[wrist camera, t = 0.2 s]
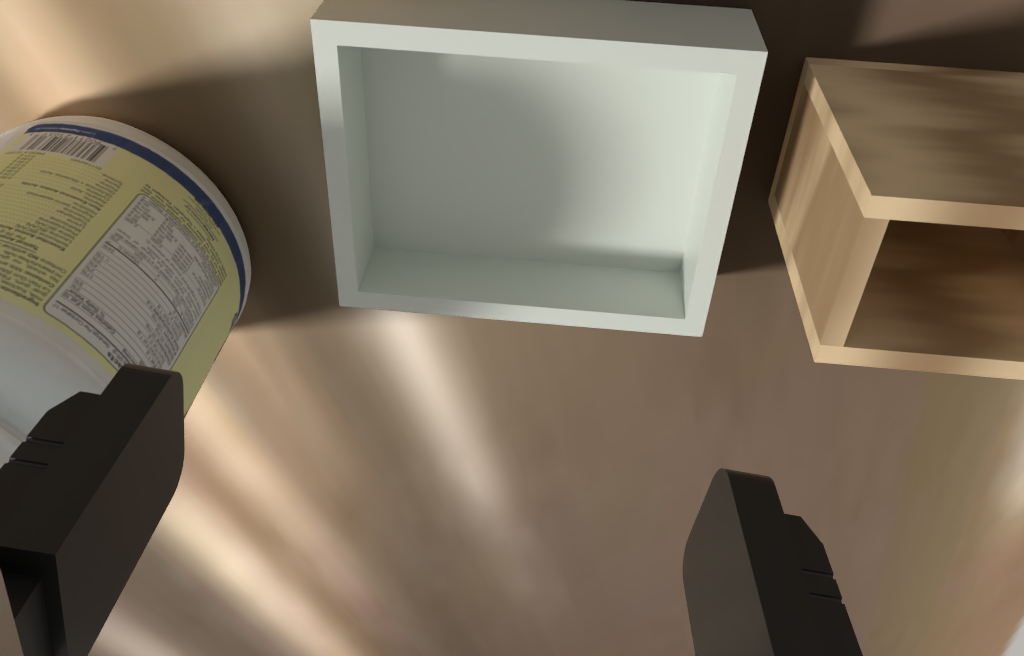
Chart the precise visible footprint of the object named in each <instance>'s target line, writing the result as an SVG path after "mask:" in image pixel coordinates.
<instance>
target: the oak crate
mask: <svg viewBox="0 0 1024 656" xmlns="http://www.w3.org/2000/svg"><path fill="white" fill-rule="evenodd" d="M768 204H769V207H770V210H771V214H772V217H773V221H774V224H775V228H776V231H777V235H778V238H779V241H780V245H781V248H782V252H783V255H784V259H785V262H786V266H787V269H788V273H789V276H790V279H791V283H792V286H793V290H794V293H795V297H796V300H797V304H798V307H799V310H800V314H801V317H802V321H803V324H804V328H805V331H806V335H807V338H808V342H809V345H810V348H811V352H812V355H813V359H814V362H820V363H832V364H844V365H855V366H867V367H879V368H891V369H902V370H914V371H926V372H937V373H949V374H961V375H973V376H984V377H996V378H1008V379H1020V380H1024V73H1019V72H1005V71H992V70H978V69H964V68H950V67H936V66H922V65H909V64H895V63H881V62H867V61H853V60H839V59H825V58H812V57H805V61H804V65H803V69H802V72H801V76H800V80H799V84H798V88H797V92H796V96H795V99H794V103H793V107H792V111H791V115H790V119H789V122H788V126H787V130H786V134H785V138H784V142H783V145H782V149H781V153H780V157H779V161H778V165H777V169H776V172H775V176H774V180H773V184H772V188H771V192H770V195H769V199H768Z"/></svg>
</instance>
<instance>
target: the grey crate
mask: <svg viewBox="0 0 1024 656" xmlns="http://www.w3.org/2000/svg"><path fill="white" fill-rule="evenodd" d="M310 22H311V32H312V42H313V52H314V61H315V71H316V81H317V91H318V101H319V110H320V120H321V130H322V140H323V150H324V159H325V169H326V179H327V189H328V198H329V208H330V218H331V228H332V238H333V247H334V257H335V267H336V277H337V286H338V296H339V306H343V307H355V308H367V309H379V310H391V311H403V312H414V313H426V314H438V315H450V316H462V317H474V318H485V319H497V320H509V321H521V322H533V323H545V324H556V325H568V326H580V327H592V328H604V329H616V330H627V331H639V332H651V333H663V334H675V335H687V336H698V337H702V335H703V331H704V326H705V322H706V318H707V313H708V309H709V305H710V300H711V296H712V292H713V287H714V283H715V279H716V274H717V270H718V266H719V262H720V257H721V253H722V249H723V244H724V240H725V236H726V231H727V227H728V223H729V218H730V214H731V210H732V205H733V201H734V197H735V193H736V188H737V184H738V180H739V175H740V171H741V167H742V162H743V158H744V154H745V149H746V145H747V141H748V136H749V132H750V128H751V124H752V119H753V115H754V111H755V106H756V102H757V98H758V93H759V89H760V85H761V80H762V76H763V72H764V67H765V63H766V59H767V54H768V51H767V48H766V46H765V43H764V40H763V38H762V35H761V33H760V30H759V28H758V25H757V23H756V20H755V18H754V15H753V12H752V10H751V9H740V8H726V7H711V6H697V5H683V4H669V3H655V2H640V1H626V0H324V1H323V3H322V4H321V5H320V7H319V8H318V9H317V11H316V12H315V13H314V15H313V16H312V17H311V19H310Z"/></svg>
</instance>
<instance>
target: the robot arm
mask: <svg viewBox="0 0 1024 656" xmlns="http://www.w3.org/2000/svg"><path fill="white" fill-rule="evenodd" d="M183 461H184V393H183V378H182V375H181V374H180V373H179V372H176V371H170V370H164V369H159V368H153V367H147V366H141V365H136V364H130V363H127V364H124V365H123V366H122V367H121V368H120V369H119V370H118V372H117V373H116V374H115V376H114V377H113V379H112V380H111V381H110V383H109V384H108V385H107V387H106V388H105V389H104V391H103V392H102V393H101V395H100V394H94V393H89V392H83V391H80V392H78V393H76V394H75V395H73V396H71V397H70V398H68V399H66V400H65V401H63V402H61V403H60V404H58V405H56V406H55V407H53V408H51V409H50V410H48V411H47V412H46V413H45V414H44V416H43V417H42V418H41V419H40V420H39V422H38V423H37V424H36V425H35V427H34V428H33V429H32V430H31V432H30V433H29V434H28V435H27V438H26V441H25V442H22V443H21V444H20V445H19V446H18V448H17V449H16V450H15V451H14V453H13V454H12V455H11V456H10V457H9V462H8V463H5V464H4V465H3V466H2V467H1V469H0V656H88V654H89V652H90V650H91V648H92V646H93V644H94V642H95V641H96V639H97V637H98V635H99V633H100V631H101V629H102V628H103V626H104V624H105V622H106V620H107V618H108V616H109V615H110V613H111V611H112V609H113V607H114V605H115V603H116V601H117V600H118V598H119V596H120V594H121V592H122V590H123V588H124V587H125V585H126V583H127V581H128V579H129V577H130V575H131V573H132V572H133V570H134V568H135V566H136V564H137V562H138V560H139V559H140V557H141V555H142V553H143V551H144V549H145V547H146V546H147V544H148V542H149V540H150V538H151V536H152V534H153V532H154V531H155V529H156V527H157V525H158V523H159V521H160V519H161V518H162V516H163V514H164V512H165V510H166V508H167V506H168V505H169V503H170V501H171V499H172V497H173V495H174V493H175V491H176V488H177V486H178V483H179V479H180V476H181V472H182V467H183ZM683 582H684V588H685V594H686V600H687V607H688V613H689V619H690V625H691V631H692V637H693V643H694V649H695V655H696V656H863V655H862V652H861V649H860V647H859V644H858V641H857V638H856V635H855V633H854V630H853V627H852V624H851V621H850V619H849V616H848V613H847V610H846V607H845V605H844V604H842V603H841V600H842V596H841V593H840V591H839V588H838V585H837V582H836V580H835V579H833V571H832V568H831V565H830V563H829V560H828V557H827V554H826V551H825V549H824V546H823V544H822V543H821V541H820V540H819V539H818V538H817V536H816V535H815V534H814V533H813V531H812V530H811V529H810V528H809V526H808V525H807V524H806V523H805V522H804V520H803V519H802V518H801V517H800V516H794V515H789V514H784V512H783V509H782V506H781V503H780V499H779V496H778V493H777V490H776V487H775V484H774V482H773V480H772V479H771V478H770V477H768V476H763V475H757V474H751V473H745V472H740V471H734V470H728V469H723V468H722V469H719V470H718V471H717V472H716V474H715V475H714V477H713V479H712V482H711V484H710V487H709V489H708V491H707V494H706V496H705V499H704V501H703V503H702V506H701V508H700V511H699V513H698V516H697V518H696V520H695V523H694V525H693V528H692V530H691V532H690V535H689V537H688V540H687V543H686V547H685V552H684V559H683Z"/></svg>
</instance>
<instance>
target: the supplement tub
mask: <svg viewBox="0 0 1024 656" xmlns="http://www.w3.org/2000/svg"><path fill="white" fill-rule="evenodd" d="M250 280H251V263H250V255H249V250H248V246H247V242H246V239H245V236H244V233H243V231H242V228H241V226H240V224H239V221H238V219H237V217H236V215H235V213H234V212H233V210H232V208H231V207H230V205H229V204H228V202H227V200H226V199H225V197H224V196H223V195H222V193H221V192H220V191H219V190H218V188H217V187H216V186H215V185H214V183H213V182H212V181H211V180H210V179H209V178H208V177H207V176H206V175H205V174H204V173H203V172H202V171H201V170H200V169H199V168H198V167H197V166H195V165H194V164H193V163H192V162H191V161H190V160H189V159H187V158H186V157H185V156H183V155H182V154H181V153H179V152H178V151H177V150H175V149H174V148H172V147H171V146H169V145H168V144H166V143H164V142H163V141H161V140H159V139H158V138H156V137H154V136H152V135H150V134H148V133H146V132H144V131H141V130H139V129H137V128H135V127H132V126H129V125H127V124H124V123H121V122H118V121H115V120H111V119H106V118H102V117H93V116H58V117H50V118H44V119H39V120H36V121H32V122H29V123H26V124H23V125H21V126H18V127H16V128H13V129H11V130H8V131H6V132H4V133H3V134H1V135H0V469H1V467H2V466H3V465H4V464H5V463H8V462H9V457H10V456H11V455H12V454H13V453H14V451H15V450H16V449H17V448H18V446H19V445H20V444H21V443H22V442H25V441H26V438H27V435H28V434H29V433H30V432H31V430H32V429H33V428H34V427H35V425H36V424H37V423H38V422H39V420H40V419H41V418H42V417H43V416H44V414H45V413H46V412H47V411H48V410H50V409H51V408H53V407H55V406H56V405H58V404H60V403H61V402H63V401H65V400H66V399H68V398H70V397H71V396H73V395H75V394H76V393H78V392H80V391H83V392H89V393H94V394H100V395H101V393H102V392H103V391H104V389H105V388H106V387H107V385H108V384H109V383H110V381H111V380H112V379H113V377H114V376H115V374H116V373H117V372H118V370H119V369H120V368H121V367H122V366H123V365H124V364H127V363H130V364H136V365H141V366H147V367H153V368H159V369H164V370H170V371H176V372H179V373H180V374H181V375H182V378H183V393H184V418H185V416H186V414H187V412H188V410H189V409H190V407H191V405H192V403H193V401H194V399H195V397H196V395H197V393H198V392H199V390H200V388H201V386H202V384H203V382H204V380H205V379H206V377H207V375H208V373H209V371H210V369H211V367H212V365H213V363H214V362H215V360H216V358H217V356H218V354H219V352H220V350H221V348H222V347H223V345H224V343H225V341H226V339H227V338H228V336H229V334H230V332H231V330H232V328H233V327H234V325H235V324H236V323H237V321H238V319H239V318H240V316H241V313H242V311H243V309H244V306H245V303H246V300H247V295H248V291H249V286H250Z"/></svg>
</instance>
